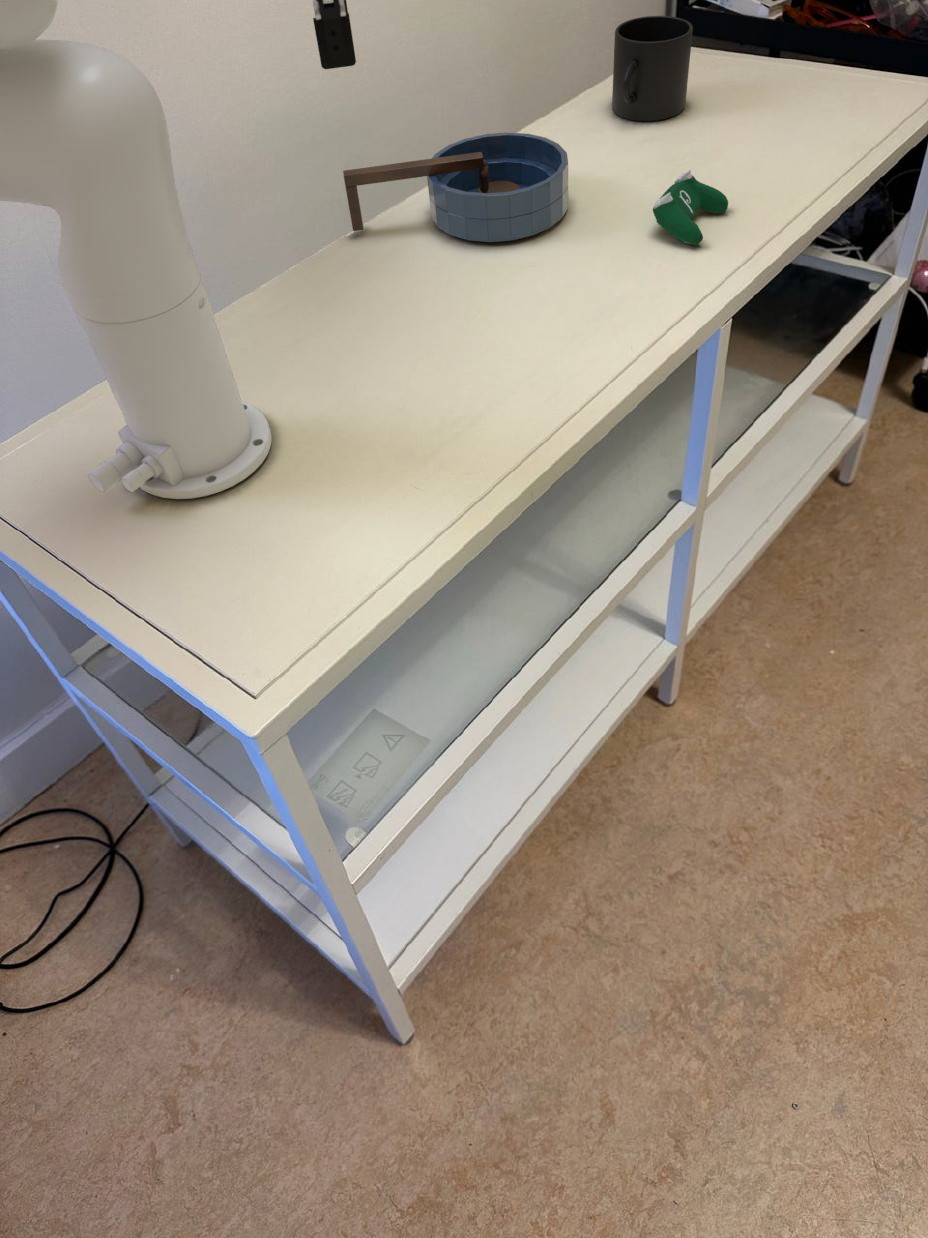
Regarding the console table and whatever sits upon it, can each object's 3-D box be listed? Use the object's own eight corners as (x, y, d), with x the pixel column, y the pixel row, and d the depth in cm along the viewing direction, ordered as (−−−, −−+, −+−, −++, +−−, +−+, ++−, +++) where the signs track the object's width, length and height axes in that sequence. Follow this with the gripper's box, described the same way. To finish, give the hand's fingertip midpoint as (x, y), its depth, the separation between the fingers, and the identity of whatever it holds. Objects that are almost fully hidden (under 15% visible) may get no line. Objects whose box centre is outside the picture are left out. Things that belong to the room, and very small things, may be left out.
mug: (589, 123, 116) (590, 44, 109) (632, 88, 122) (636, 11, 115) (656, 135, 112) (662, 54, 105) (697, 98, 118) (705, 19, 111)
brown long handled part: (516, 195, 104) (514, 139, 99) (524, 214, 101) (522, 158, 96) (351, 218, 103) (342, 163, 98) (354, 238, 100) (344, 182, 95)
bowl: (516, 259, 96) (514, 207, 91) (405, 226, 102) (398, 177, 98) (593, 197, 103) (594, 147, 99) (484, 170, 110) (481, 123, 105)
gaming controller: (707, 222, 101) (674, 178, 99) (734, 202, 98) (700, 156, 96) (675, 262, 96) (640, 216, 94) (702, 242, 93) (666, 194, 91)
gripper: (349, -178, 68) (382, 74, 81) (339, -209, 79) (369, 16, 92) (250, -165, 67) (299, 86, 80) (254, -199, 79) (296, 26, 92)
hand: (336, 48), depth 86 cm, fingers open, 9 cm apart
